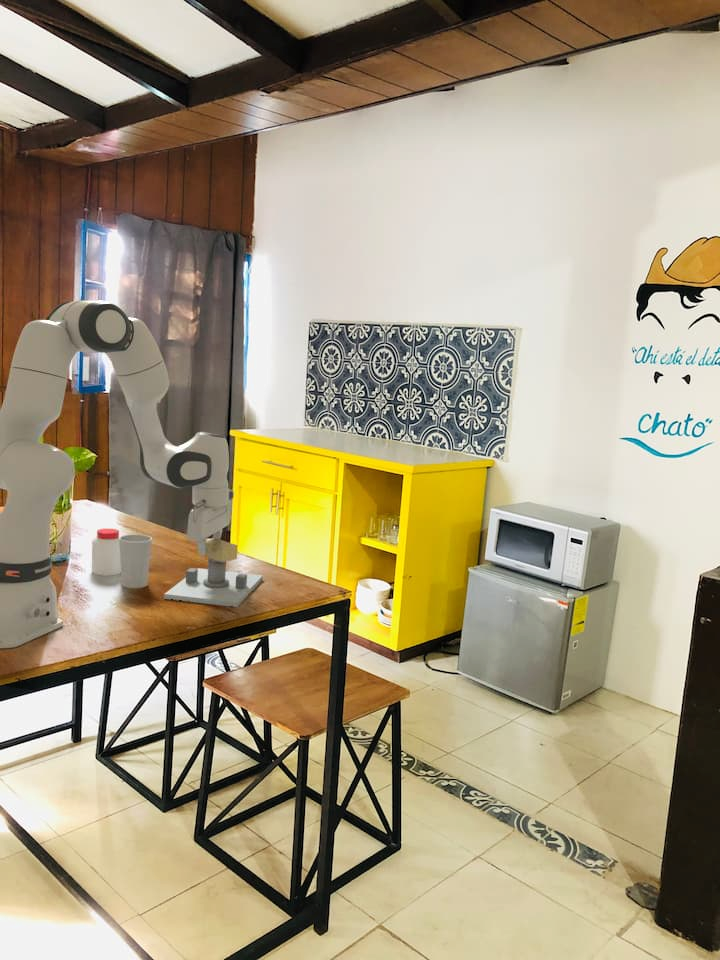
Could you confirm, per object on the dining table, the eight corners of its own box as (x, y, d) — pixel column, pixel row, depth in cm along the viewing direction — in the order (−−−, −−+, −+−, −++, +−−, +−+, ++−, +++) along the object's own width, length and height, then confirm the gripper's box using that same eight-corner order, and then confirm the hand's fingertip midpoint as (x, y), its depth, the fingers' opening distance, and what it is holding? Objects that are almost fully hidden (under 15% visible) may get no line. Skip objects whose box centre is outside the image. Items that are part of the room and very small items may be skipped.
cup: (134, 577, 204) (136, 532, 202) (157, 584, 200) (159, 538, 198) (110, 584, 197) (112, 537, 195) (134, 591, 193) (135, 543, 191)
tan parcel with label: (236, 562, 198) (237, 544, 197) (222, 566, 194) (223, 547, 193) (212, 555, 203) (213, 537, 202) (198, 558, 199) (198, 540, 199)
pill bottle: (103, 577, 202) (104, 535, 200) (85, 570, 207) (86, 529, 205) (128, 572, 208) (129, 531, 207) (110, 565, 213) (111, 526, 211)
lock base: (236, 607, 187) (238, 578, 186) (164, 598, 189) (165, 569, 188) (262, 579, 210) (264, 553, 209) (197, 572, 213) (198, 546, 211)
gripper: (206, 506, 186) (205, 562, 189) (236, 490, 206) (235, 541, 208) (181, 503, 187) (180, 559, 190) (213, 488, 207) (212, 539, 210)
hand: (209, 550), depth 199 cm, fingers open, 7 cm apart
